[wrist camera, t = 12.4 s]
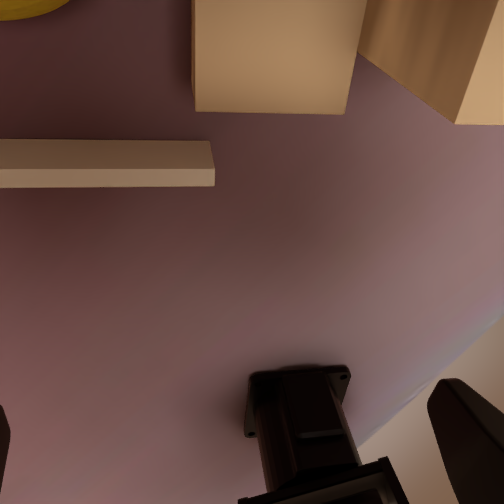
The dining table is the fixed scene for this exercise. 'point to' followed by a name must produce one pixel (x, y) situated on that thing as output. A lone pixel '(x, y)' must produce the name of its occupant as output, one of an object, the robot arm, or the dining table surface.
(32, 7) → the lemon
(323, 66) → the stepped wooden corner piece
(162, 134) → the dining table surface
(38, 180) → the corral
